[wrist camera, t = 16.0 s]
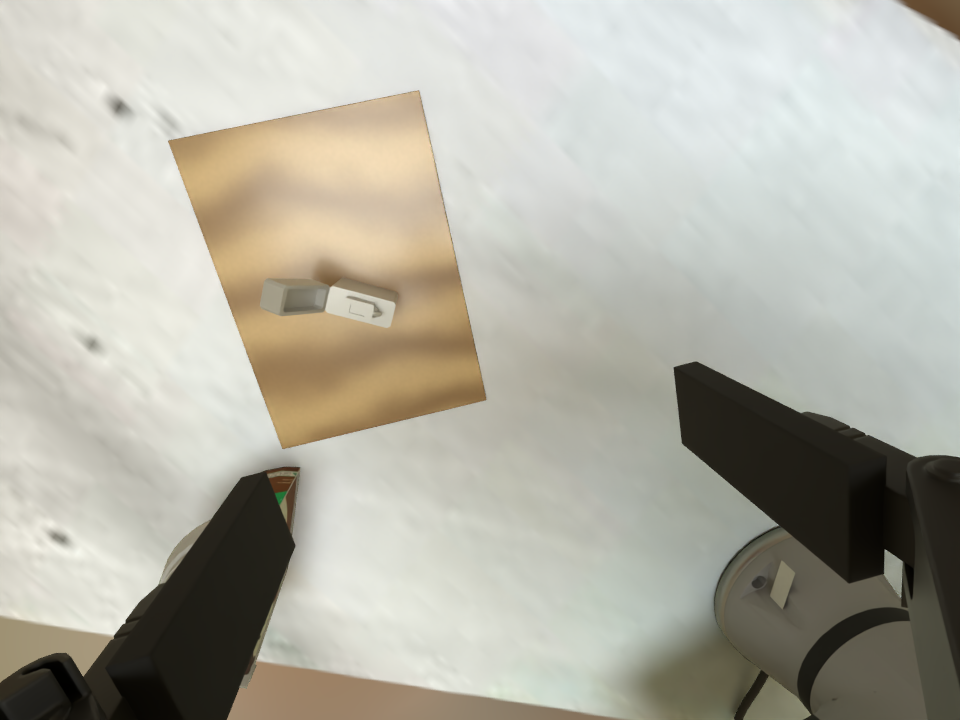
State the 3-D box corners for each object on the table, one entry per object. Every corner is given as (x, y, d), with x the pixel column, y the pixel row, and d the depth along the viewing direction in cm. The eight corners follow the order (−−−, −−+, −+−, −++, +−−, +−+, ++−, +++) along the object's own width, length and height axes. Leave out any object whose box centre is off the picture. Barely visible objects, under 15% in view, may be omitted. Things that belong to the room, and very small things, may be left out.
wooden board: (485, 398, 38) (486, 400, 38) (283, 447, 37) (282, 449, 37) (418, 91, 31) (419, 90, 31) (170, 141, 31) (167, 140, 30)
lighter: (398, 292, 35) (393, 314, 27) (392, 315, 35) (386, 343, 27) (297, 265, 33) (261, 279, 26) (292, 289, 34) (255, 310, 26)
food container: (217, 439, 36) (146, 518, 27) (302, 450, 37) (263, 530, 28) (207, 576, 39) (141, 690, 30) (286, 582, 41) (245, 695, 31)
